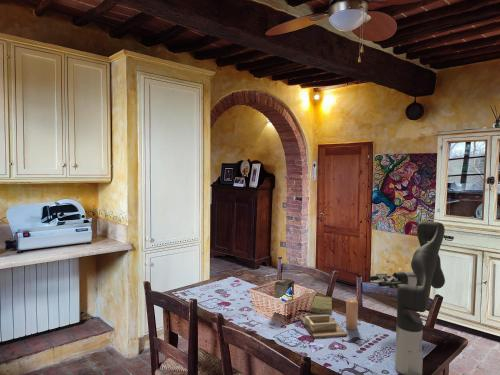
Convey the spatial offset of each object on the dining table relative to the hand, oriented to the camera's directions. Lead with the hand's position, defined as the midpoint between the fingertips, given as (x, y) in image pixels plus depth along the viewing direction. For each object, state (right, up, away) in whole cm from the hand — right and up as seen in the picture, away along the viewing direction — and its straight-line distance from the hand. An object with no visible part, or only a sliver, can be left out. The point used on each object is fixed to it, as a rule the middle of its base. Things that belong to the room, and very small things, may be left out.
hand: (374, 281), depth 180 cm
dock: (-25, -22, -1) cm, 34 cm away
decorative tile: (-25, -21, +25) cm, 42 cm away
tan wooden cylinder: (-11, -22, 0) cm, 25 cm away
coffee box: (-42, -21, +18) cm, 50 cm away
